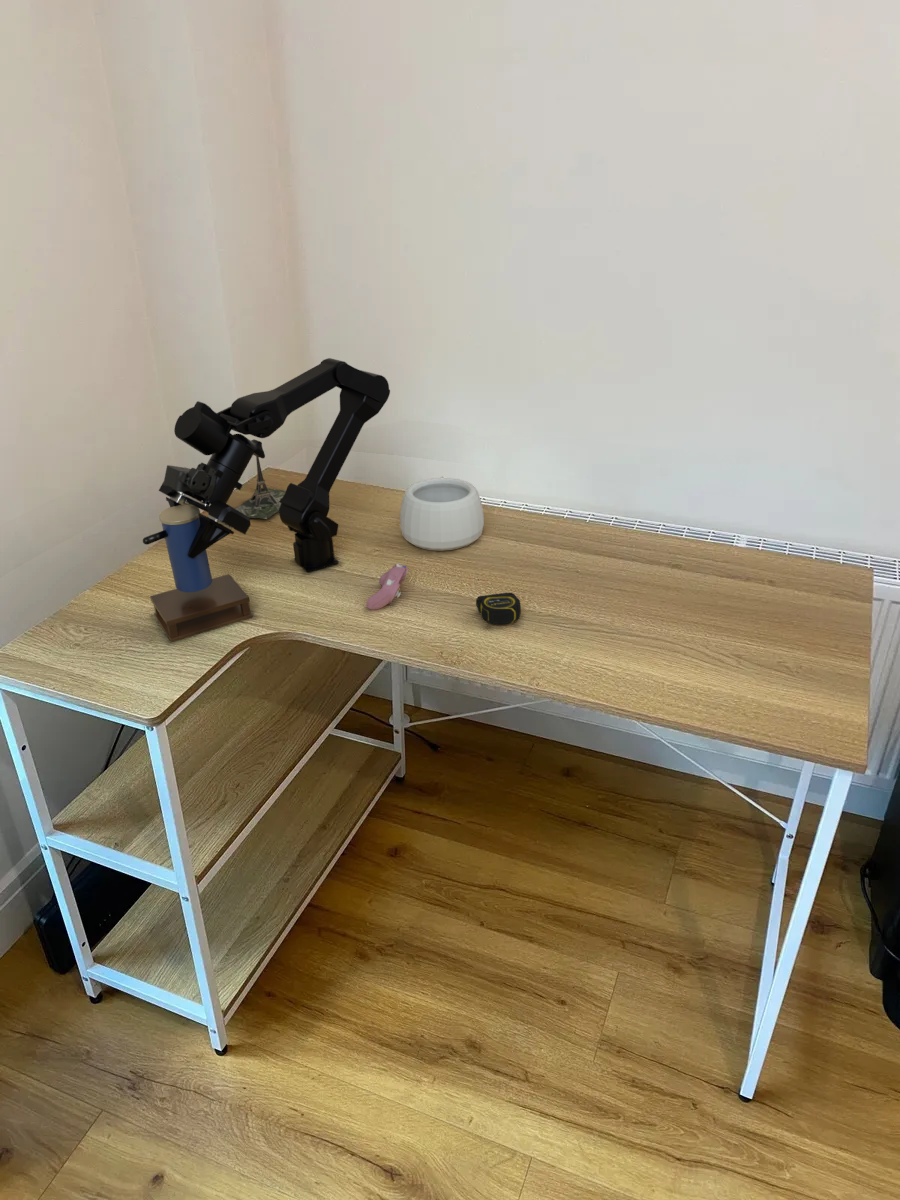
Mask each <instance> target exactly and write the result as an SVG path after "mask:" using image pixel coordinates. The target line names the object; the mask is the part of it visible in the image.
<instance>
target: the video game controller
mask: <svg viewBox="0 0 900 1200" xmlns="http://www.w3.org/2000/svg"><path fill="white" fill-rule="evenodd" d="M408 572H409V567H407V566H406V565H404V564H399V563H396V564H394V565H393V566H392V567H391V568H390V569H389V570H387V571H386V572H384V573H383V574H381V576H380V577H379V579H378V583H379V584H380V586H381V588H380V589H379V590H378V591H377V592H375V593H374V594H372V595H371V596H370V597H368V598H367V600H366V602H365V603H366V604H365V605H366V607H367V609H368V610H372V611H375V610H380V609H382V608H383V607H386V606H387V605H391V603H392V602H393V600H394V599H395V598H397V599H398V598H399V597H400V596H401V594H402V592H401V588H400V587H401V584H402V583H403V581H405V579H406V578H407V575H408Z"/></svg>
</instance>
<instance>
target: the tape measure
mask: <svg viewBox="0 0 900 1200" xmlns="http://www.w3.org/2000/svg"><path fill="white" fill-rule="evenodd" d="M475 601H476V602H475V606H476V608H477V611H478V613H479V614H481V616H480V617H481V619H482V620H483V621H484V622H486V623H487V624H490V625H492V626H507V625H511V624H514V623H516V622H517V621H518V620H519V619H520V617H521V611H522V606H521V600H520V598H518V597H517V596H516V594H515V593H513V592H502V593H493V594H486V595H479V596H477V597H476V599H475Z"/></svg>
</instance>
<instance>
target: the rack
mask: <svg viewBox="0 0 900 1200" xmlns="http://www.w3.org/2000/svg"><path fill="white" fill-rule="evenodd" d="M149 598H150V601H151V603H152V604H153V610H154V613H153V615H154V618H155V619H156V621H157V622H158V624H159V626H160V627H161V629H162V630H163V632H164V634H165V636H167V638H168V640H169V641H170V643H173V642H176V641H180V640H183V639H186V638H189V637H192V636H193V637H194V636H196V635H199V634H203V633H206V632H209V631H212V630H217V629H219V628H222V627H226V626H228V625H233V624H235V623H239V622H242V621H245V620H249V619H252V618H253V614H252V612H251V609H250V601H251V600H250V597H249V595H248V594H247V593H246V591H245V590H244V589H243V588H242V587H241V586H240V584H238V583H237V581H236V580H235V579H234V578H233V576H232V575H231V574H230V573H228V574H224V575H221V576H216V577H214V578H213V577H212V583H211V585H210V586H208V587H207V588H205V589H203V590H200V591H196V592H182V591H179V590H178V589H177V588H174V589H171V590H167V591H164V592H159V593H157V594H154V595H150V596H149Z"/></svg>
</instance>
